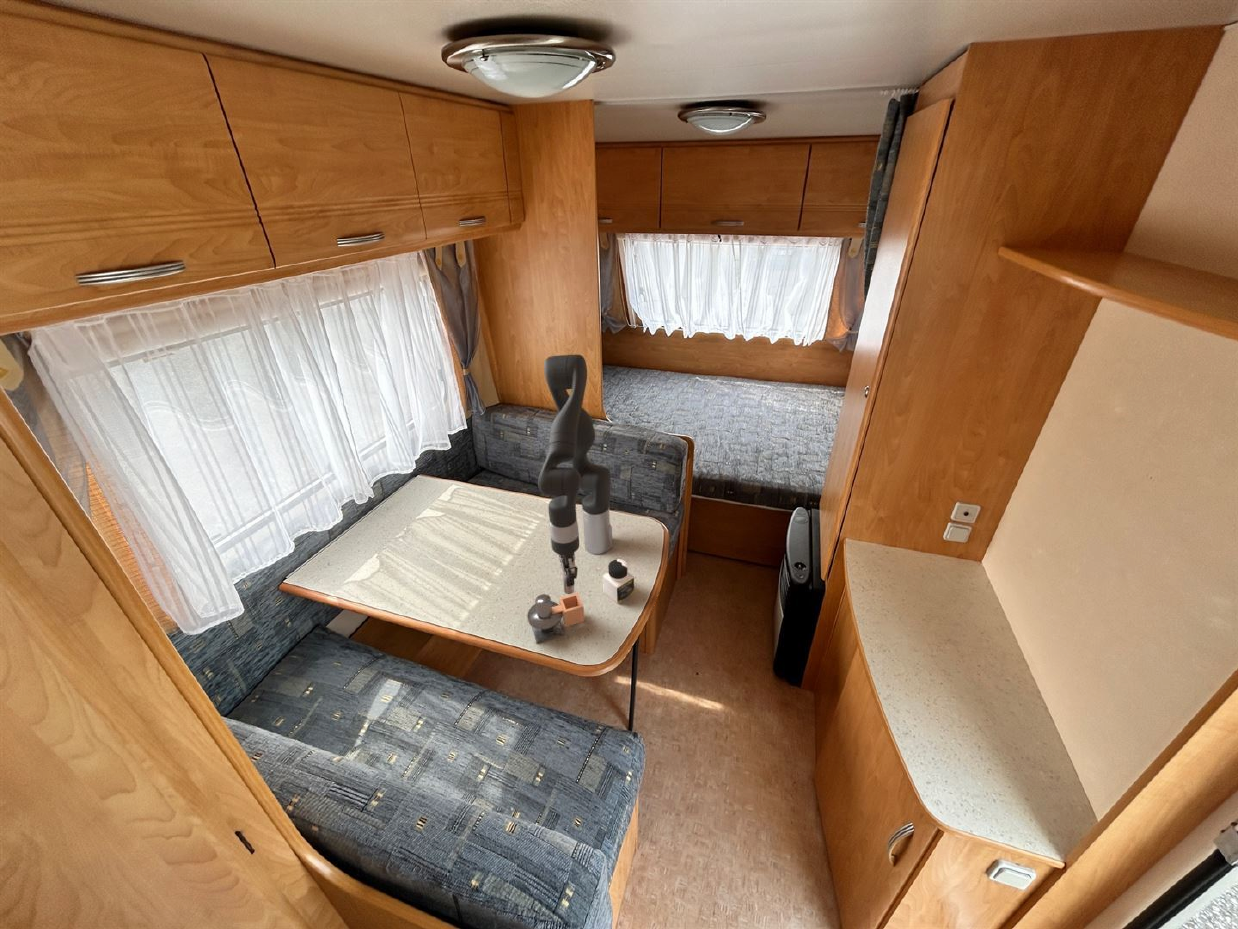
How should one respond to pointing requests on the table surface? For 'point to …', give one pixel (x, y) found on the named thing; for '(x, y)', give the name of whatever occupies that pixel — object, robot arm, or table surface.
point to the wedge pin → (566, 589)
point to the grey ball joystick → (544, 619)
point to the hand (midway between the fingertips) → (568, 580)
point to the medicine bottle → (618, 581)
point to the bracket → (570, 609)
